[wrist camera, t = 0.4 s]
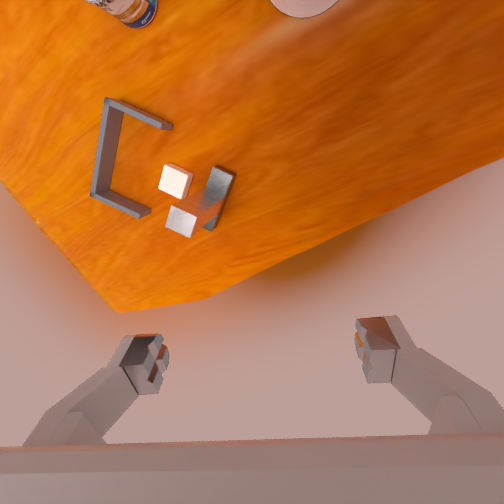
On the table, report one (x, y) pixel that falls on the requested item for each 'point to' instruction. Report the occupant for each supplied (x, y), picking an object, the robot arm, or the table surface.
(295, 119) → the table surface
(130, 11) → the beverage bottle
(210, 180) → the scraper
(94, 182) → the box
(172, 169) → the white square block
